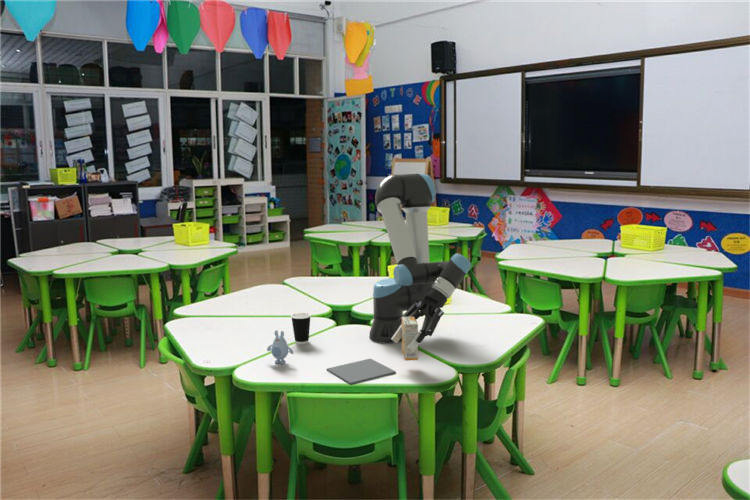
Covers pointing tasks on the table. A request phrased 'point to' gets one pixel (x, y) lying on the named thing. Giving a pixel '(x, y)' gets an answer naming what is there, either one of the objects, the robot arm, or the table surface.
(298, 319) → the dixie cup
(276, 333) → the toy figure
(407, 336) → the supplement box
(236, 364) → the table surface
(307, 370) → the table surface
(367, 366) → the mat
